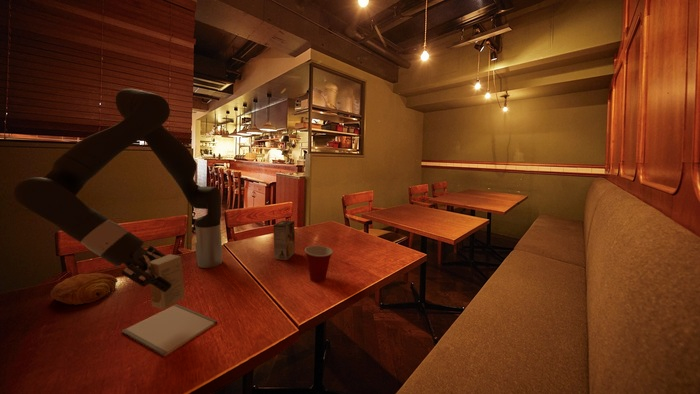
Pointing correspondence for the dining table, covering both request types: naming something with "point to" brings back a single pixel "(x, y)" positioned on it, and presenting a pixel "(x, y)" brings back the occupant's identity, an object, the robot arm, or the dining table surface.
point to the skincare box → (171, 272)
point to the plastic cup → (318, 262)
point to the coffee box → (284, 240)
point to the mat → (169, 329)
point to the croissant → (83, 288)
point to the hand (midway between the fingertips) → (173, 281)
